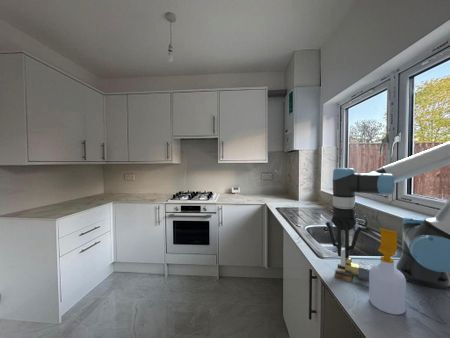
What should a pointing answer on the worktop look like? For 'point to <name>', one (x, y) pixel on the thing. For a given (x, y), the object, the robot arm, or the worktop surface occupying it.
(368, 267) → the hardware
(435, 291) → the worktop surface
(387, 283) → the soap bottle
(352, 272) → the bolt
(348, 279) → the panel
